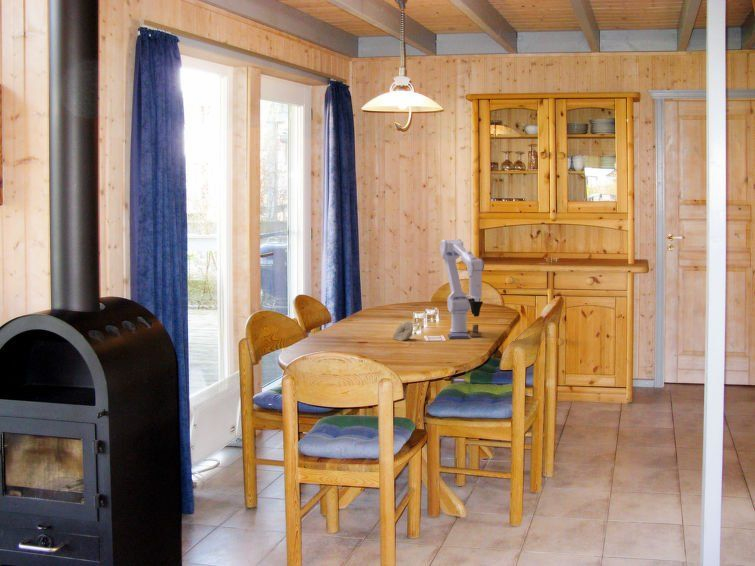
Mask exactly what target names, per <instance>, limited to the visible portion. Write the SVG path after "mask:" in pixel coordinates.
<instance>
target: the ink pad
mask: <svg viewBox="0 0 755 566" xmlns="http://www.w3.org/2000/svg"><path fill="white" fill-rule="evenodd" d="M447 338H448V339H449V340H469V339H470V335H468V333H467V332H449V333H448V334H447Z"/></svg>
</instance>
